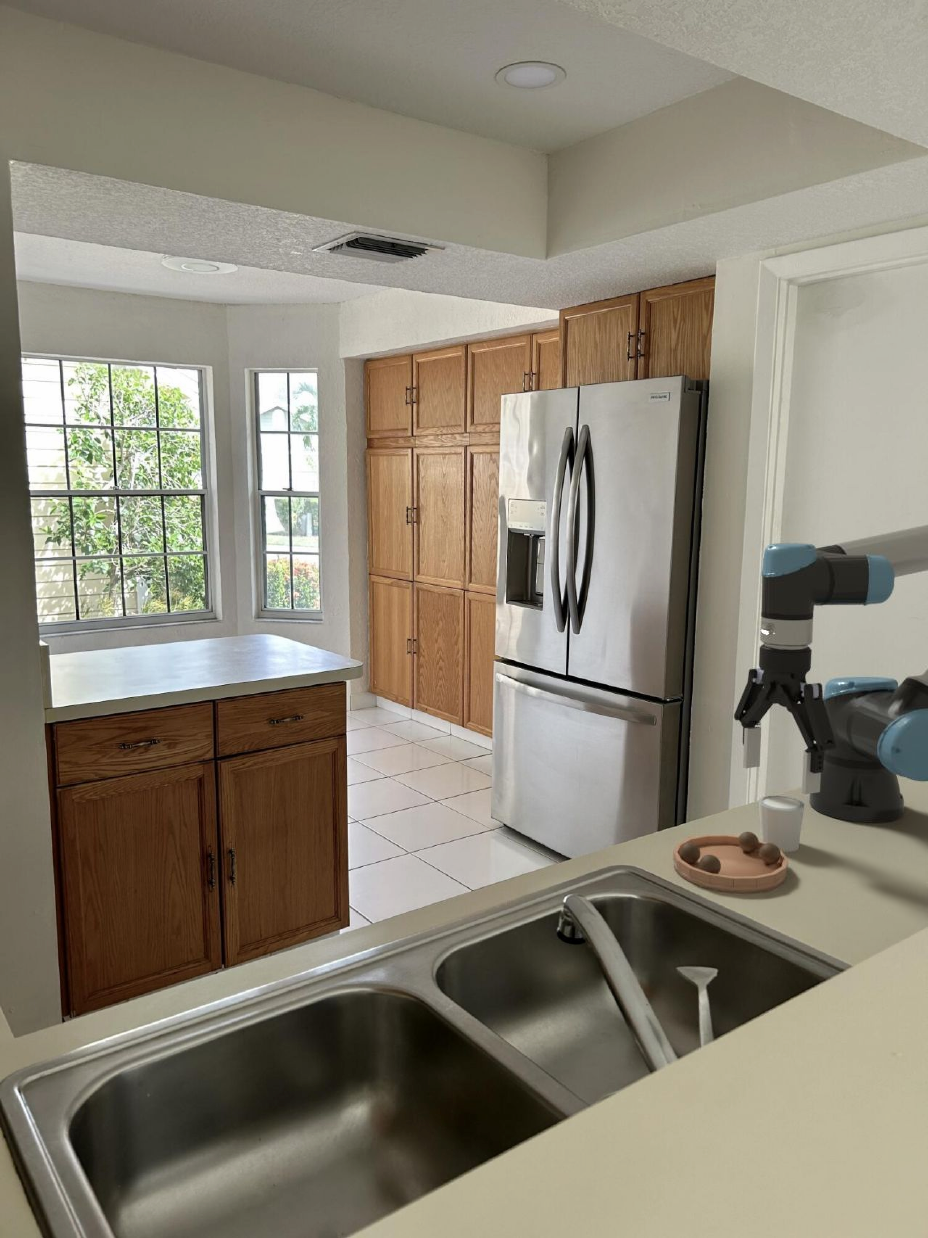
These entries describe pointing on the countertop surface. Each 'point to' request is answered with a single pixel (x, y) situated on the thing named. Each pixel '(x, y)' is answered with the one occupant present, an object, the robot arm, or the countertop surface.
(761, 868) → the tray
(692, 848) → the bead
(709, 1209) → the countertop surface
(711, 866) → the bead
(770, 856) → the bead
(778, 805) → the white cup
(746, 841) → the bead
